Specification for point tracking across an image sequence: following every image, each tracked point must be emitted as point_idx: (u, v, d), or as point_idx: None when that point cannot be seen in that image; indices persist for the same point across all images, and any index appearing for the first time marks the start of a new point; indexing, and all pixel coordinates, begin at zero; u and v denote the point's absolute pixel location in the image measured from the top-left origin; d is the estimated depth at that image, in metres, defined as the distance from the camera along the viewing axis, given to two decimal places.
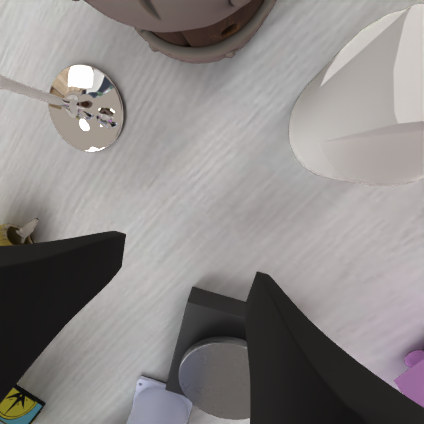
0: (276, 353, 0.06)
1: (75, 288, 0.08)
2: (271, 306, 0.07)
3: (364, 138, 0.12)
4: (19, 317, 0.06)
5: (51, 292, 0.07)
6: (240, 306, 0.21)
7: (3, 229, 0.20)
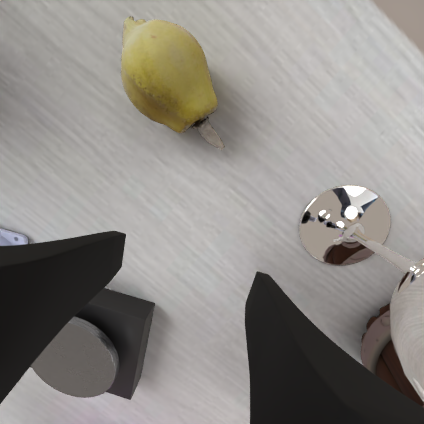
0: (276, 353, 0.06)
1: (75, 288, 0.08)
2: (271, 306, 0.07)
3: None
4: (19, 317, 0.06)
5: (51, 292, 0.07)
6: (144, 347, 0.23)
7: (212, 110, 0.14)
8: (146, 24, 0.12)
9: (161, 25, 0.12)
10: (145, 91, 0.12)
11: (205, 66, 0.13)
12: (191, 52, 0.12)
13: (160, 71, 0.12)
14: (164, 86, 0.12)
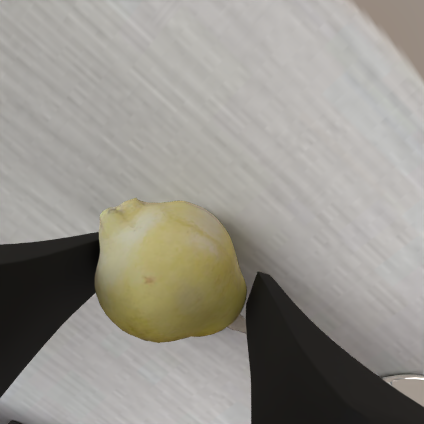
0: (277, 353, 0.06)
1: (72, 287, 0.08)
2: (272, 306, 0.07)
3: None
4: (15, 316, 0.06)
5: (48, 291, 0.07)
6: None
7: None
8: (137, 242, 0.07)
9: (163, 246, 0.07)
10: (135, 336, 0.07)
11: (234, 274, 0.08)
12: (215, 279, 0.07)
13: (161, 329, 0.06)
14: (166, 338, 0.07)
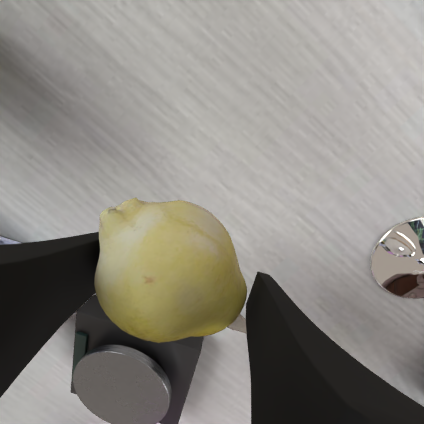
0: (277, 353, 0.06)
1: (72, 287, 0.08)
2: (272, 306, 0.07)
3: None
4: (15, 316, 0.06)
5: (47, 291, 0.07)
6: None
7: None
8: (137, 242, 0.07)
9: (163, 246, 0.07)
10: (135, 336, 0.07)
11: (235, 274, 0.08)
12: (215, 279, 0.07)
13: (162, 329, 0.06)
14: (167, 338, 0.07)
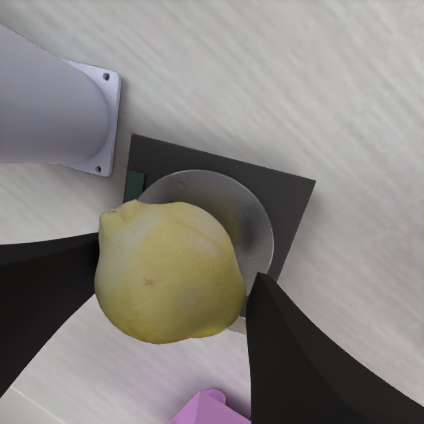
0: (277, 353, 0.06)
1: (72, 287, 0.08)
2: (272, 306, 0.07)
3: None
4: (15, 316, 0.06)
5: (48, 291, 0.07)
6: None
7: None
8: (137, 244, 0.07)
9: (163, 248, 0.07)
10: (134, 337, 0.07)
11: (234, 275, 0.08)
12: (215, 281, 0.07)
13: (161, 332, 0.06)
14: (166, 340, 0.07)
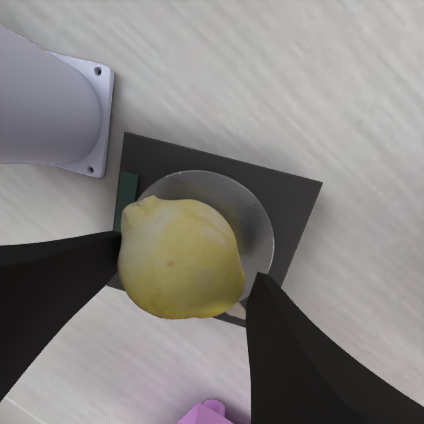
0: (277, 353, 0.06)
1: (74, 288, 0.08)
2: (272, 306, 0.07)
3: None
4: (18, 317, 0.06)
5: (50, 292, 0.07)
6: None
7: None
8: (159, 232, 0.08)
9: (182, 236, 0.08)
10: (152, 313, 0.08)
11: (237, 262, 0.09)
12: (223, 265, 0.08)
13: (178, 305, 0.08)
14: (181, 315, 0.08)
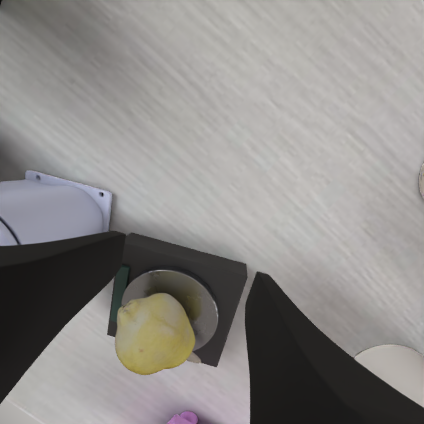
0: (276, 353, 0.06)
1: (75, 288, 0.08)
2: (271, 306, 0.07)
3: None
4: (19, 317, 0.06)
5: (51, 292, 0.07)
6: None
7: None
8: (136, 331, 0.15)
9: (148, 333, 0.15)
10: None
11: (184, 340, 0.16)
12: (172, 346, 0.15)
13: (146, 370, 0.15)
14: (148, 373, 0.15)
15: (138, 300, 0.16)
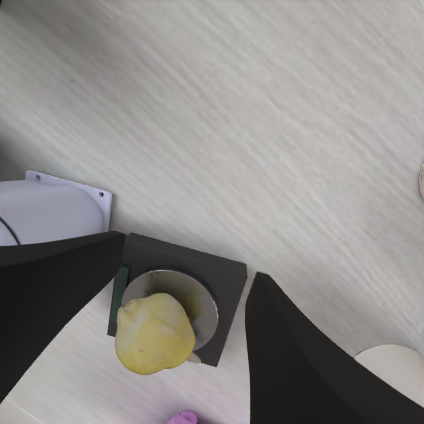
0: (276, 353, 0.06)
1: (75, 288, 0.08)
2: (271, 306, 0.07)
3: None
4: (19, 317, 0.06)
5: (51, 292, 0.07)
6: None
7: None
8: (136, 331, 0.15)
9: (148, 333, 0.15)
10: None
11: (184, 340, 0.16)
12: (172, 346, 0.15)
13: (146, 370, 0.15)
14: (148, 373, 0.15)
15: (138, 300, 0.16)
